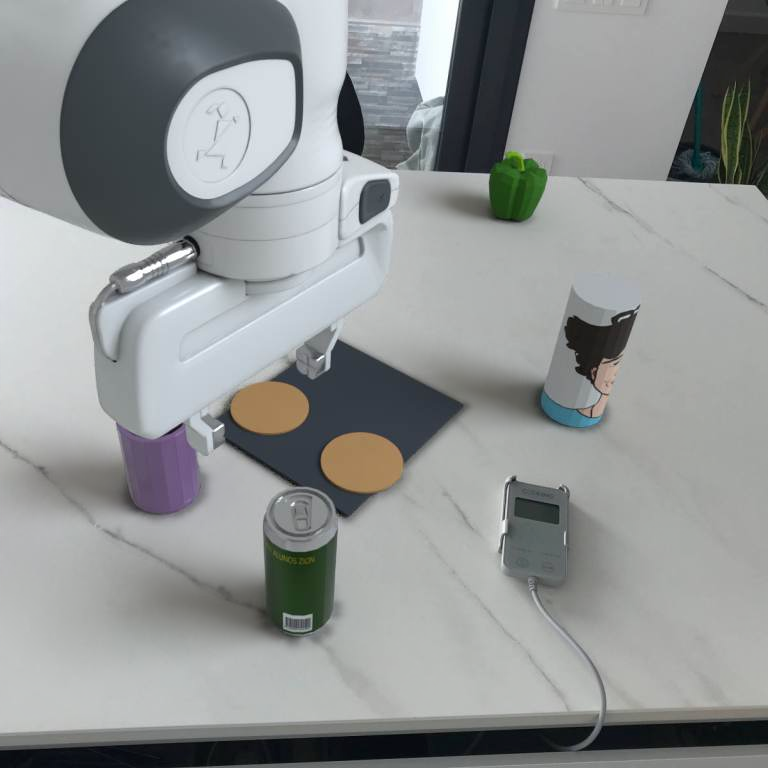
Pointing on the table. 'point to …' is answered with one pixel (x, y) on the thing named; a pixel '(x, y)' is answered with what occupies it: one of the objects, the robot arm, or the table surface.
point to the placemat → (338, 425)
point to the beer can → (300, 559)
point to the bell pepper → (516, 187)
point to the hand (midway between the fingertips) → (263, 405)
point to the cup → (589, 347)
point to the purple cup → (160, 470)
